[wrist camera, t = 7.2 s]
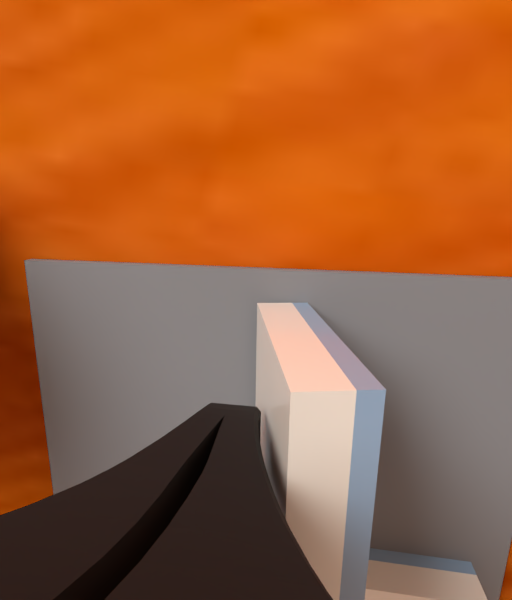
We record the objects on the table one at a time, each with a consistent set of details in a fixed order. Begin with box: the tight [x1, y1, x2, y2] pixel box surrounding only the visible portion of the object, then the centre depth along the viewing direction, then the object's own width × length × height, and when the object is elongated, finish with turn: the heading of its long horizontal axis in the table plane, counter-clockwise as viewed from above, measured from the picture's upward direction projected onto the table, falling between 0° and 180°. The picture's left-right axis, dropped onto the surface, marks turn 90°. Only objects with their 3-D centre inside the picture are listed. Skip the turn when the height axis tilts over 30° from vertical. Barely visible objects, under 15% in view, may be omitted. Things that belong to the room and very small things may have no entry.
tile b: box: [255, 303, 386, 600], centre depth 10 cm, size 2×6×6 cm, turn 179°
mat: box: [24, 259, 512, 600], centre depth 14 cm, size 17×17×1 cm
